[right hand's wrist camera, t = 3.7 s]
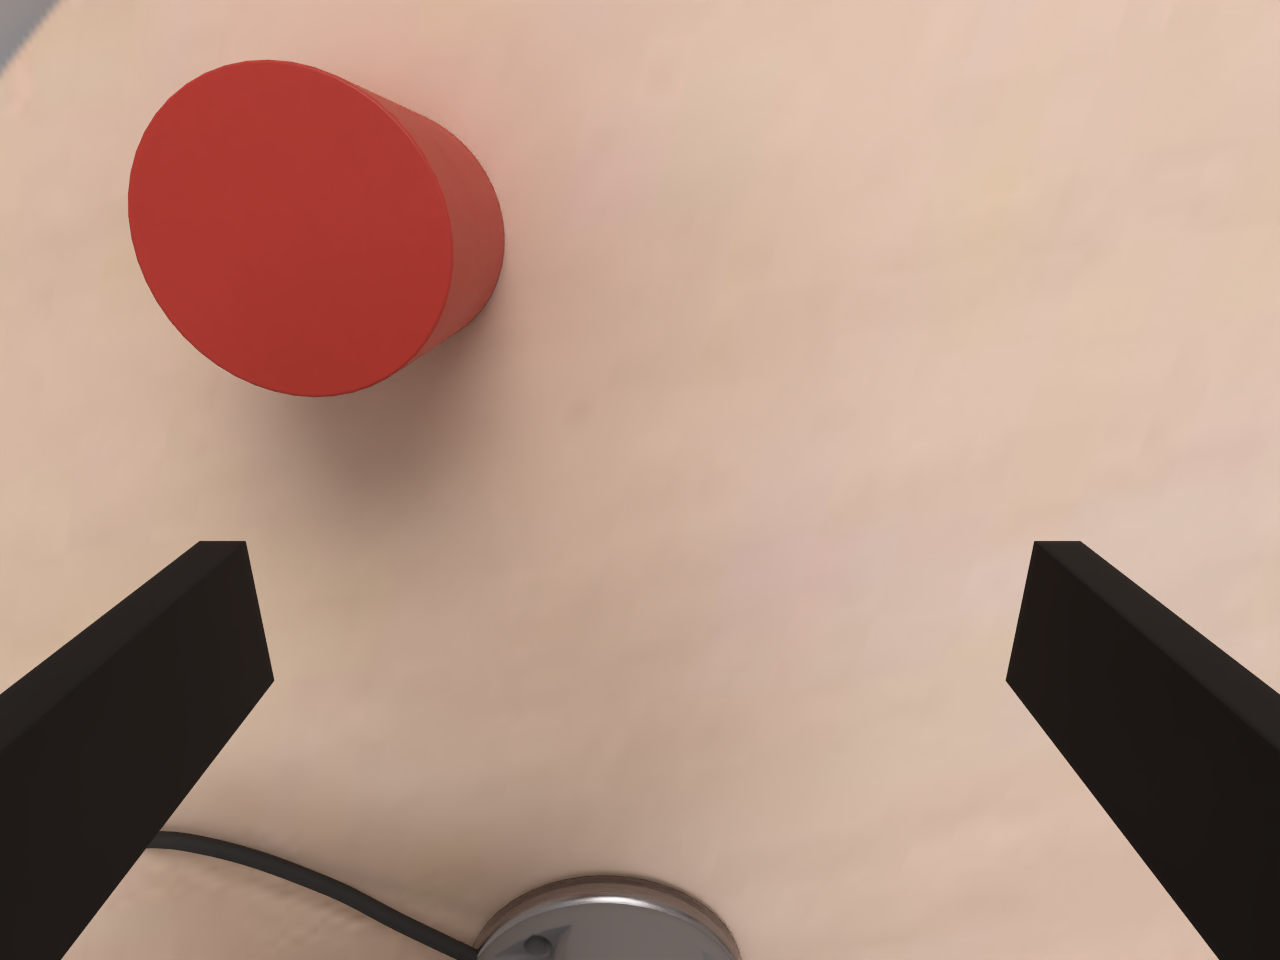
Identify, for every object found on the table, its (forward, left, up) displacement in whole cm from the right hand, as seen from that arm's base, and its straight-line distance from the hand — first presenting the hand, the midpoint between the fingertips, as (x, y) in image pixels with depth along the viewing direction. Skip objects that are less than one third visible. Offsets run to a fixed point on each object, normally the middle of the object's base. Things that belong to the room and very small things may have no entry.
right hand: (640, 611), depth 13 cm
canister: (-11, +3, -19) cm, 22 cm away
